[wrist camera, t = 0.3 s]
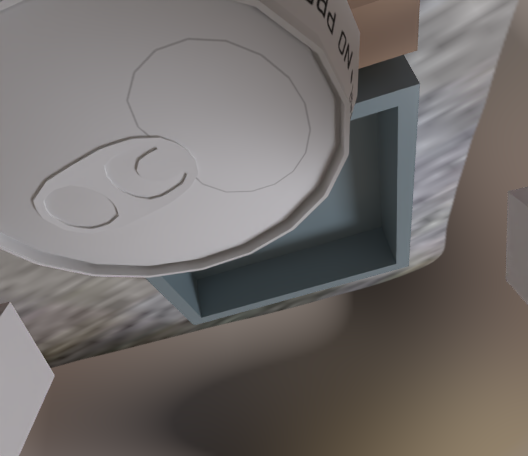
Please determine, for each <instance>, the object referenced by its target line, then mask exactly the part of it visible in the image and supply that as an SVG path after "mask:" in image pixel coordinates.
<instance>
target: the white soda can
mask: <svg viewBox="0 0 528 456" xmlns="http://www.w3.org/2000/svg"><path fill="white" fill-rule="evenodd" d="M359 44H360V32H359V29H358V27H357V24H356V22H355V19H354V17H353V14H352V12H351V9H350V7H349V4H348V2H347V0H0V249H2V250H4V251H7V252H9V253H11V254H14V255H16V256H18V257H20V258H23V259H25V260H27V261H30V262H32V263H34V264H37V265H41V266H46V267H51V268H56V269H61V270H66V271H71V272H76V273H80V274H85V275H90V276H104V277H144V278H151V277H158V276H165V275H172V274H178V273H185V272H192V271H199V270H204V269H207V268H210V267H213V266H216V265H219V264H222V263H225V262H228V261H231V260H234V259H237V258H240V257H243V256H247V255H250V254H252V253H254V252H255V251H257V250H259V249H261V248H262V247H264V246H266V245H268V244H269V243H271V242H273V241H275V240H276V239H278V238H280V237H282V236H283V235H285V234H287V233H289V232H290V231H292V230H294V229H295V228H296V227H297V226H298V225H299V224H300V223H301V222H302V221H303V220H304V219H305V218H306V217H307V216H308V215H309V214H310V213H311V212H312V211H313V210H314V209H315V208H316V207H317V206H318V205H319V204H320V203H322V202H323V201H324V200H325V199H326V198H327V197H328V195H329V193H330V191H331V189H332V187H333V185H334V183H335V181H336V179H337V177H338V175H339V173H340V171H341V169H342V167H343V165H344V163H345V161H346V159H347V157H348V155H349V135H350V120H351V116H352V112H353V109H354V105H355V102H356V98H357V92H358V68H359Z"/></svg>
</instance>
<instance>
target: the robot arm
mask: <svg viewBox="0 0 528 456" xmlns="http://www.w3.org/2000/svg"><path fill="white" fill-rule="evenodd" d="M507 212H508V214H507V253H506V281H507V282H508V283H509V284H510V285H511V287H513V289H514V290H515V291H516V292H517V293H518V294H519V296H520V297H521V298H522V299H523V300H524V301H525V303H526V304H527V305H528V187H525V188H520V189H516V190H511V191H508V211H507ZM54 376H55V375H54V374H53V372H52V370H51V369H50V367H49V365H48V364H47V362H46V360H45V359H44V357H43V355H42V354H41V352H40V350H39V349H38V347H37V345H36V344H35V342H34V340H33V339H32V337H31V335H30V334H29V332H28V330H27V329H26V327H25V325H24V324H23V322H22V321H21V319H20V317H19V316H18V314H17V312H16V311H15V309H14V307H13V306H12V304H11V302H7V303H3V304H0V456H19V454H20V452H21V450H22V447H23V445H24V443H25V440H26V438H27V436H28V434H29V432H30V429H31V427H32V425H33V423H34V421H35V418H36V416H37V414H38V412H39V410H40V407H41V405H42V403H43V401H44V398H45V396H46V394H47V392H48V389H49V387H50V385H51V383H52V381H53V378H54Z"/></svg>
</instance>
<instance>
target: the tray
mask: <svg viewBox="0 0 528 456" xmlns="http://www.w3.org/2000/svg"><path fill="white" fill-rule="evenodd" d="M419 89H420V83H419V81H418V80H417V78H416V76H415V74H414V72H413V71H412V69H411V67H410V65H409V64H408V62H407V60H406V58H405V56H404V55H401V56H398V57H395V58H391V59H388V60H385V61H382V62H379V63H376V64H372V65H369V66H366V67H363V68H360V69H358V92H357V98H356V102H355V105H354V109H353V112H352V116H351V120H350V135H349V155H348V157H347V159H346V161H345V163H344V165H343V167H342V169H341V171H340V173H339V175H338V177H337V179H336V181H335V183H334V185H333V187H332V189H331V191H330V193H329V195H328V197H327V198H326V199H325V200H324V201H323V202H322V203H320V204H319V205H318V206H317V207H316V208H315V209H314V210H313V211H312V212H311V213H310V214H309V215H308V216H307V217H306V218H305V219H304V220H303V221H302V222H301V223H300V224H299V225H298V226H297V227H296V228H295V229H294V230H292V231H290V232H289V233H287V234H285V235H283V236H282V237H280V238H278V239H276V240H275V241H273V242H271V243H269V244H268V245H266V246H264V247H262V248H261V249H259V250H257V251H255V252H254V253H252V254H250V255H247V256H243V257H240V258H237V259H234V260H231V261H228V262H225V263H222V264H219V265H216V266H213V267H210V268H207V269H204V270H199V271H192V272H185V273H178V274H172V275H165V276H158V277H151V278H146V279H147V280H148V281H149V282H150V283H151V284H152V285H153V286H154V287H155V288H156V289H157V290H158V291H159V292H160V293H161V294H162V295H163V296H164V297H165V298H166V299H167V300H168V301H170V302H171V303H172V304H173V305H174V306H175V307H176V308H177V309H178V310H179V311H180V312H181V313H182V314H183V315H184V316H185V317H186V318H187V319H188V320H189V321H190V322H191V323H192V324H193V325H197V324H200V323H204V322H208V321H211V320H215V319H218V318H222V317H226V316H229V315H233V314H237V313H240V312H244V311H247V310H251V309H255V308H258V307H262V306H266V305H269V304H273V303H277V302H280V301H284V300H287V299H291V298H295V297H298V296H302V295H306V294H309V293H313V292H316V291H320V290H324V289H327V288H331V287H335V286H338V285H342V284H345V283H349V282H353V281H356V280H360V279H364V278H367V277H371V276H375V275H378V274H382V273H385V272H389V271H393V270H396V269H400V268H404V267H407V266H409V253H410V237H411V220H412V204H413V188H414V171H415V155H416V138H417V122H418V106H419Z"/></svg>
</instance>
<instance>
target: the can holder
mask: <svg viewBox="0 0 528 456" xmlns="http://www.w3.org/2000/svg"><path fill="white" fill-rule="evenodd" d="M347 2H348V4H349V7H350V9H351V12H352V14H353V17H354V19H355V22H356V24H357V27H358V29H359V32H360V44H359V68H358V69H360V68H363V67H366V66H369V65H372V64H376V63H379V62H382V61H385V60H388V59H391V58H395V57H398V56H401V55H404V54H407V53H410V52H413V51H417V46H418V26H419V7H420V0H347Z"/></svg>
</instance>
